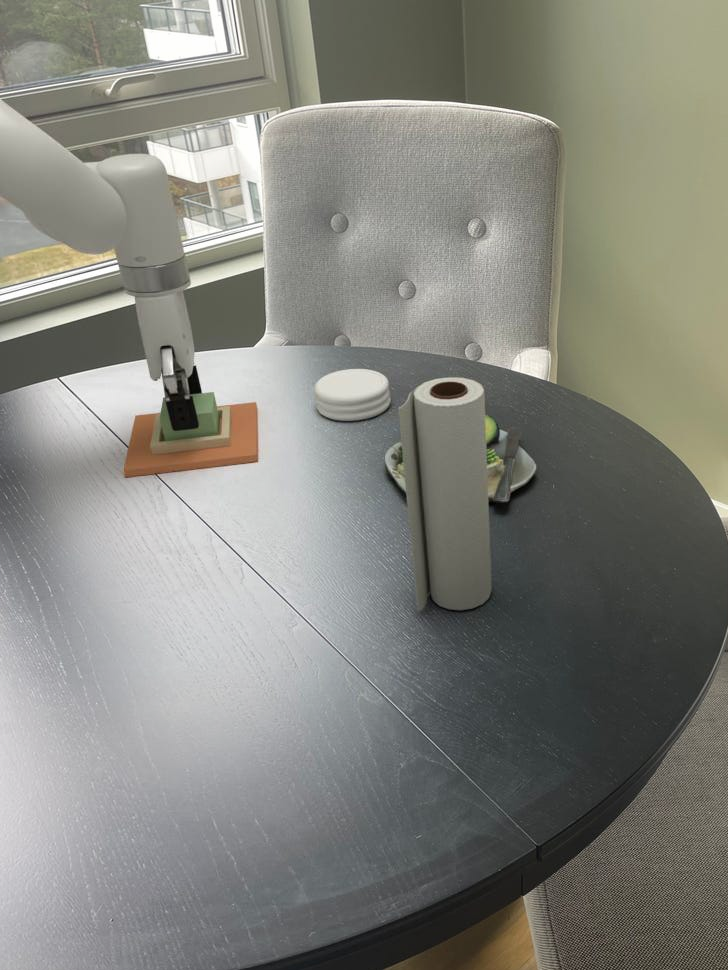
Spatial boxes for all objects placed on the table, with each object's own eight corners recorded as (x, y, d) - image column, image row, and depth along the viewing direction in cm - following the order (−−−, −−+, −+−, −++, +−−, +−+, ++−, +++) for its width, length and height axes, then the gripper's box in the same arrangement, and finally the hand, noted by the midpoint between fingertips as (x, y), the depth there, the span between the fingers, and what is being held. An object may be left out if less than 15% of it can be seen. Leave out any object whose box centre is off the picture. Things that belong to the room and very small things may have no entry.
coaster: (311, 398, 134) (307, 374, 132) (381, 386, 136) (378, 362, 134) (324, 427, 126) (321, 402, 124) (398, 415, 129) (396, 390, 127)
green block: (167, 447, 121) (159, 418, 119) (170, 426, 126) (162, 397, 124) (218, 441, 122) (212, 412, 120) (220, 420, 127) (213, 391, 125)
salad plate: (571, 500, 109) (572, 464, 106) (419, 533, 105) (416, 496, 102) (509, 431, 124) (509, 397, 121) (374, 457, 119) (370, 422, 116)
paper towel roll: (490, 575, 98) (483, 373, 85) (492, 611, 93) (485, 401, 80) (419, 578, 98) (401, 376, 85) (417, 614, 93) (397, 405, 80)
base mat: (125, 477, 118) (120, 461, 116) (137, 422, 130) (132, 406, 129) (258, 461, 120) (254, 445, 118) (257, 408, 132) (254, 393, 131)
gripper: (129, 255, 118) (162, 388, 129) (113, 301, 105) (152, 446, 115) (191, 250, 119) (219, 382, 130) (184, 294, 106) (216, 438, 116)
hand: (188, 412), depth 122 cm, fingers open, 9 cm apart
